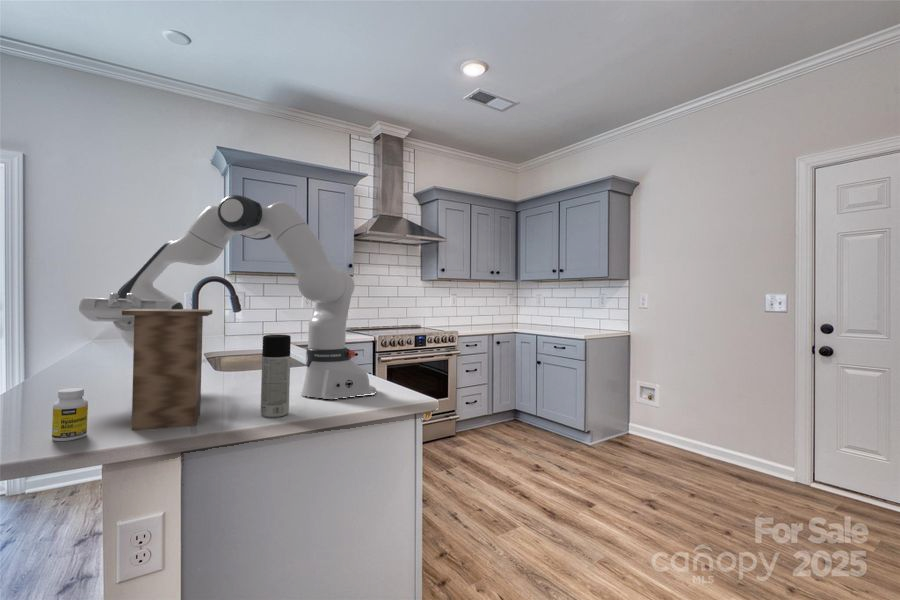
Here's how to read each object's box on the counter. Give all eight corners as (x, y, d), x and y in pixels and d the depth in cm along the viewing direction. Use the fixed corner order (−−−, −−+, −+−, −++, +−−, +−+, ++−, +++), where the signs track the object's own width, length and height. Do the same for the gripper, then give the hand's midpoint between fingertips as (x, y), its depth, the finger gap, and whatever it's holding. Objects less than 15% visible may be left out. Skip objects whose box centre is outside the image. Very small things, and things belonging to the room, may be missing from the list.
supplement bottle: (57, 443, 85) (58, 393, 85) (47, 438, 88) (48, 390, 88) (91, 436, 90) (92, 389, 90) (81, 431, 93) (82, 385, 93)
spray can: (293, 411, 113) (295, 334, 113) (280, 419, 106) (283, 337, 106) (269, 410, 114) (271, 333, 113) (254, 417, 107) (257, 336, 107)
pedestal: (209, 413, 109) (212, 309, 109) (204, 425, 99) (207, 311, 99) (133, 418, 103) (135, 308, 103) (119, 432, 93) (121, 310, 93)
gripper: (90, 308, 121) (73, 283, 110) (176, 310, 129) (168, 287, 118) (85, 329, 118) (67, 305, 107) (173, 329, 126) (165, 307, 115)
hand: (121, 295), depth 113 cm, fingers open, 2 cm apart
